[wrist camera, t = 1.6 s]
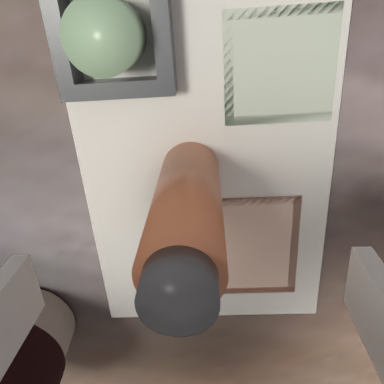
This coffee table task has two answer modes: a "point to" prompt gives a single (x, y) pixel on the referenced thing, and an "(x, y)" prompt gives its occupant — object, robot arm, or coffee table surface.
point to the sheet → (227, 144)
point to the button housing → (113, 87)
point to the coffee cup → (44, 346)
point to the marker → (183, 246)
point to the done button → (102, 36)
